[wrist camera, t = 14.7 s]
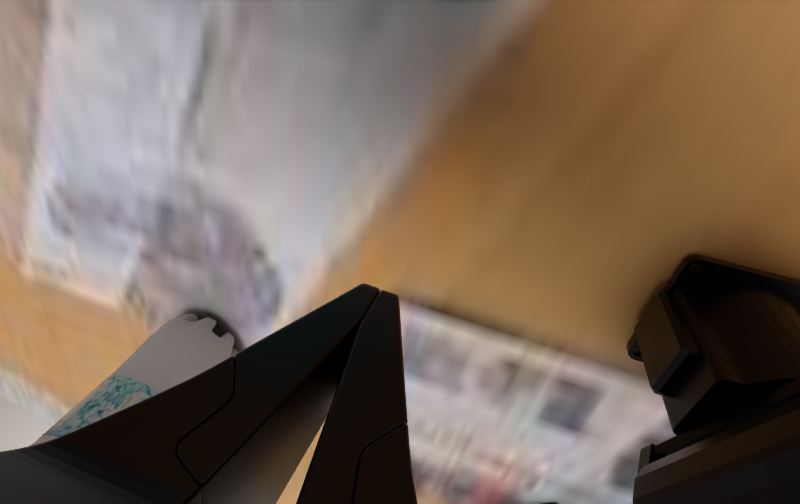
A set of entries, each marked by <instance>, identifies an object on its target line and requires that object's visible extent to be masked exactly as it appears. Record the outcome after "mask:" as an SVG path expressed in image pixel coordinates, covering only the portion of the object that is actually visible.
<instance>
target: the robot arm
mask: <svg viewBox="0 0 800 504" xmlns="http://www.w3.org/2000/svg"><path fill="white" fill-rule="evenodd" d="M695 264H700V266H699V267H698V268H696V269H690V268H691V267H692V266H693V265H695ZM634 331H635V334H634V336H633V337H632V339H631V340H630V342H629V343H628V345H627V351H628V355H629V356H630V357H631V358H632V359H634V360H638V361H641V362H644V365H645V369H646V372H647V376H648V379H649V383H650V386H651V388H652V390H653V391H654V393H656V394H659V395H662V397H663V400H664V404H665V407H666V410H667V413H668V417H669V420H670V423H671V426H672V430H673V432H674V434H676V435H677V436H674V437H672V438H670V439H668V440H666V441H664V442H662V443H659V444H657V445H654V444H651V445H649V446H646V447H644V448H642V449H641V452H640V460H639V468H638V475H637V476H636V478H635V482H634V493H633V504H800V281H798V280H794V279H790V278H786V277H783V276H779V275H775V274H771V273H767V272H763V271H759V270H755V269H751V268H747V267H744V266H740V265H736V264H732V263H728V262H724V261H720V260H716V259H712V258H708V257H705V256H701V255H692V256H689V257H687V258H685V259H684V260H683V261H682V262H681V264H680V266H679V267H678V269H677V270H676V272H675V273H674V275H673V276H672V278H671V279H670V281H669V282H668V284H667V285H666V287H665V288H664V290H662V291H660V292H658V293H657V294H656V295H655V297H654V299H653V300H652V302H651V303H650V305H649V306H648V308H647V309H646V311H645V312H644V314H643V316H642V317H641V319H640V320H639V322H638V323H637V325H636V326H635V328H634ZM638 349H640V351H635V350H638ZM326 417H327V418H326ZM325 419H326V420H325ZM324 421H325V423H324V426H323V429H322V432H321V435H320V438H319V440H318V443H317V446H316V449H315V452H314V455H313V457H312V460H311V463H310V466H309V469H308V472H307V474H306V477H305V480H304V483H303V486H302V489H301V491H300V494H299V497H298V500H297V503H296V504H417V498H416V492H415V486H414V480H413V474H412V466H411V456H410V447H409V434H408V425H407V408H406V394H405V379H404V365H403V351H402V336H401V322H400V307H399V297H398V296H397V295H396V294H393V293H390V292H387V291H385V290H382V291H380V290H379V289H378V288H376V287H373V286H371V285H368V284H360V285H358V286H357V287H355V288H353V289H351V290H350V291H348V292H346V293H344V294H342V295H341V296H339V297H337V298H335V299H333V300H332V301H330V302H328V303H326V304H324V305H323V306H321V307H319V308H317V309H316V310H314V311H312V312H310V313H308V314H307V315H305V316H303V317H301V318H299V319H298V320H296V321H294V322H292V323H290V324H289V325H287V326H285V327H283V328H282V329H280V330H278V331H276V332H274V333H273V334H271V335H269V336H267V337H265V338H264V339H262V340H260V341H258V342H256V343H255V344H253V345H251V346H249V347H248V348H246V349H244V350H242V351H240V352H239V353H237V354H236V355H235V357H234V356H231V357H229V358H228V359H226V360H224V361H222V362H220V363H219V364H217V365H215V366H213V367H211V368H209V369H207V370H205V371H204V372H202V373H200V374H198V375H196V376H194V377H192V378H190V379H188V380H186V381H184V382H182V383H180V384H178V385H176V386H173V387H171V388H169V389H167V390H165V391H163V392H161V393H159V394H156V395H154V396H152V397H150V398H147V399H145V400H143V401H141V402H138V403H136V404H134V405H132V406H129V407H127V408H125V409H123V410H120V411H118V412H116V413H114V414H111V415H109V416H107V417H105V418H102V419H100V420H98V421H96V422H93V423H91V424H89V425H87V426H84V427H82V428H80V429H78V430H75V431H73V432H70V433H68V434H66V435H63V436H61V437H58V438H55V439H52V440H49V441H46V442H43V443H40V444H36V445H32V446H29V447H24V448H20V449H15V450H9V451H2V452H0V504H276V502H277V501H278V499H279V497H280V495H281V494H282V492H283V490H284V489H285V487H286V485H287V483H288V482H289V480H290V478H291V477H292V475H293V473H294V472H295V470H296V468H297V466H298V465H299V463H300V461H301V460H302V458H303V456H304V455H305V453H306V451H307V449H308V448H309V446H310V444H311V443H312V441H313V439H314V438H315V436H316V434H317V432H318V431H319V429H320V427H321V426H322V424H323V422H324Z"/></svg>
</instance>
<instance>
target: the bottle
mask: <svg viewBox="0 0 800 504" xmlns="http://www.w3.org/2000/svg"><path fill="white" fill-rule="evenodd" d="M215 326H216V320H214V319H212V318H209V317H208V318H204V319H201V320H199V319H198V317H197V316H196V315H194V314H185V315H181V316H179V317H177V318H175V319H173V320H171V321H170V322H168V323H167V324H165V325H164V326H162V327H161V328H160V329H158V330H157V331H156V332H155V333H154V334H152V335H151V336H150V337H149V338H148V339H147V340H146V341H145V342H144V343H143V344H142V345H141V346H140V347H139V348H138V349H137V350H136V351H135V352H134V353H133V354H132V355H131V356H130V357H129V358H128V359H127V360H126V361H125V362H124V363H123V364H122V365H121V366H120V367H119V368H118V369H117V370H116V371H115V372H114V373H113V374H112V375H111V376H109V377H108V378H107V379H106V380H105V381H103V382H102V383H101V384H100V385H99V386H98V387H97V388H96V389H94V390H93V391H92V392H91V393H90V394H89V395H88V396H86V397H85V398H84V399H83V400H82V401H81V402H80V403H78V404H77V405H76V406H75V407H74V408H73V409H72V410H71V411H69V412H68V413H67V414H66V415H65V416H64V417H63V418H61V419H60V420H59V421H58V422H57V423H56V424H55V425H54V426H52V427H51V428H50V429H49V430H48V431H47V432H46V433H44V434H43V435H42V436H41V437H40V438H39V439H38V440H37V441H36V442H35V443H33V444H32V445H36V444H40V443H43V442H46V441H49V440H52V439H55V438H58V437H61V436H63V435H66V434H68V433H70V432H73V431H75V430H78V429H80V428H82V427H84V426H87V425H89V424H91V423H93V422H96V421H98V420H100V419H102V418H105V417H107V416H109V415H111V414H114V413H116V412H118V411H120V410H123V409H125V408H127V407H129V406H132V405H134V404H136V403H138V402H141V401H143V400H145V399H147V398H150V397H152V396H154V395H156V394H159V393H161V392H163V391H165V390H167V389H169V388H171V387H173V386H176V385H178V384H180V383H182V382H184V381H186V380H188V379H190V378H192V377H194V376H196V375H198V374H200V373H202V372H204V371H205V370H207V369H209V368H211V367H213V366H215V365H217V364H219V363H220V362H222V361H224V360H226V359H228V358H229V357H231V356H234V357H235V355H236V354H237V353H238V351H237V350H236V349H235V348H232V347H233V345H234V337H233V336H232V335H231V333H225V334H224V335H223V336H221V337H218V336H217V335H216V334H215V333H213V331H212V330H213V328H214V327H215ZM32 445H31V446H32Z"/></svg>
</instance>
